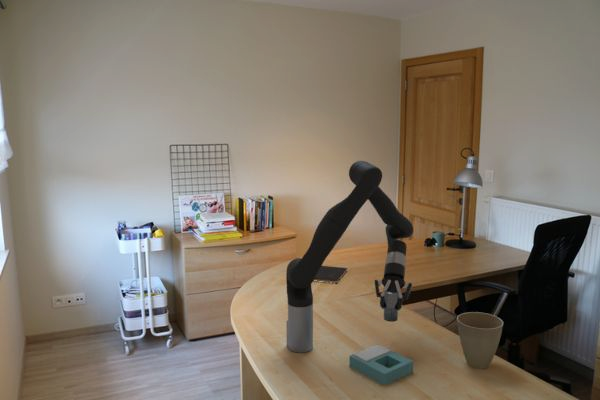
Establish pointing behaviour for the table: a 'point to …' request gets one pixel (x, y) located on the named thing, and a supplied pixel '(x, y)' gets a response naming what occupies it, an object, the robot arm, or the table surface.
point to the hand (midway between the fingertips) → (390, 308)
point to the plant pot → (479, 337)
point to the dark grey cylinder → (391, 305)
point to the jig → (381, 364)
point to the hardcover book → (330, 274)
